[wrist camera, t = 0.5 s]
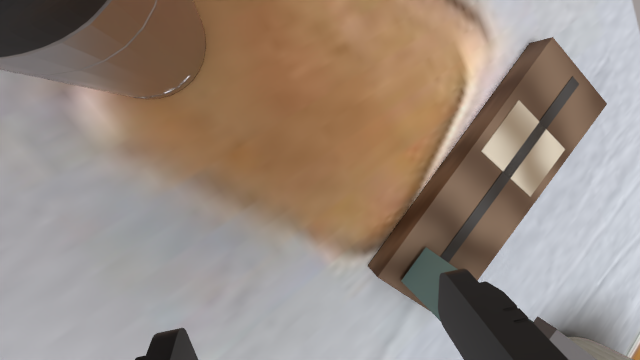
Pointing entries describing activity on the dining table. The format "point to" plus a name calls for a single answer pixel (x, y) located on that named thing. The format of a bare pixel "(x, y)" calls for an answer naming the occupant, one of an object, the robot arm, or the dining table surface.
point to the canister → (598, 350)
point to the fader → (430, 266)
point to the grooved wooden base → (495, 167)
